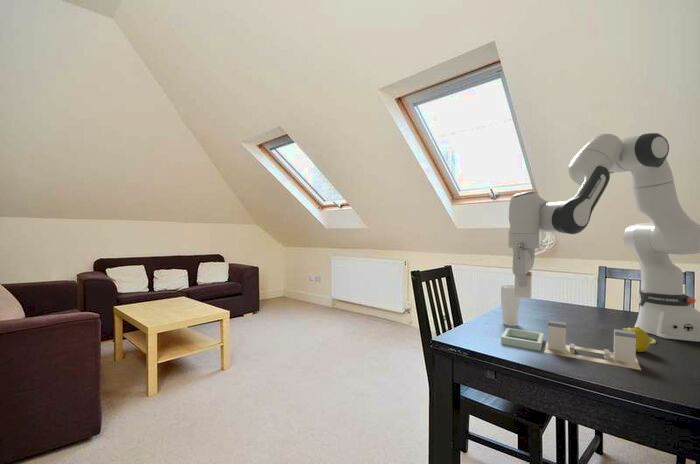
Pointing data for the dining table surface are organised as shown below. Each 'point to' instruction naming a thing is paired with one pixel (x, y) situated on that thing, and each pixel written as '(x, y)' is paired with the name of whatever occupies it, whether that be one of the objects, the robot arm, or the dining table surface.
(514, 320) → the drinking glass
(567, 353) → the holder board
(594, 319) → the dining table surface
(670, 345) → the dining table surface
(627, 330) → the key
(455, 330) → the dining table surface
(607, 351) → the clip jaws
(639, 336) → the lemon
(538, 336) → the tray
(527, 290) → the marked fuse
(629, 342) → the fuse
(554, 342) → the block
